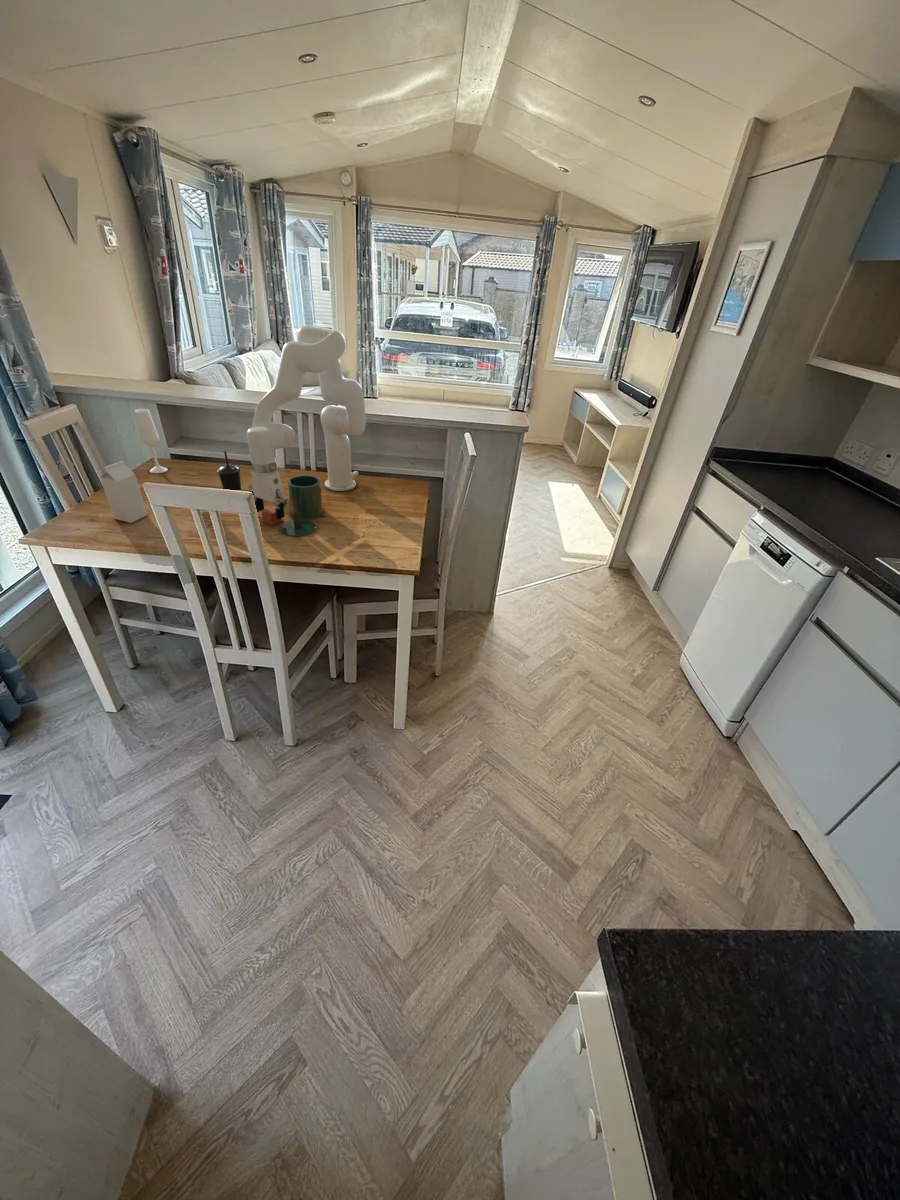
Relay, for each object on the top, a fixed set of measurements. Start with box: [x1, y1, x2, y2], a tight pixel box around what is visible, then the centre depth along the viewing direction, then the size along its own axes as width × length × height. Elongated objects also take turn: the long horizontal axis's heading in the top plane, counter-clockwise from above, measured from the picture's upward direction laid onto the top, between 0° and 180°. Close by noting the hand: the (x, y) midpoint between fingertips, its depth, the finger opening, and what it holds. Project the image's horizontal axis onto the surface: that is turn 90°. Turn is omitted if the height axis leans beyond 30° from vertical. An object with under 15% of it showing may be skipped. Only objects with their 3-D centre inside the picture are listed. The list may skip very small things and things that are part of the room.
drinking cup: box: [216, 451, 242, 491], centre depth 181 cm, size 8×8×20 cm
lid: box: [279, 511, 317, 538], centre depth 172 cm, size 12×12×7 cm
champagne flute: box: [134, 408, 169, 474], centre depth 201 cm, size 7×7×24 cm
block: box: [260, 506, 283, 525], centre depth 176 cm, size 4×4×4 cm
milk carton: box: [99, 460, 148, 524], centre depth 168 cm, size 7×7×19 cm
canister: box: [287, 474, 324, 520], centre depth 181 cm, size 11×11×12 cm
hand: (270, 514), depth 175 cm, fingers open, 9 cm apart
